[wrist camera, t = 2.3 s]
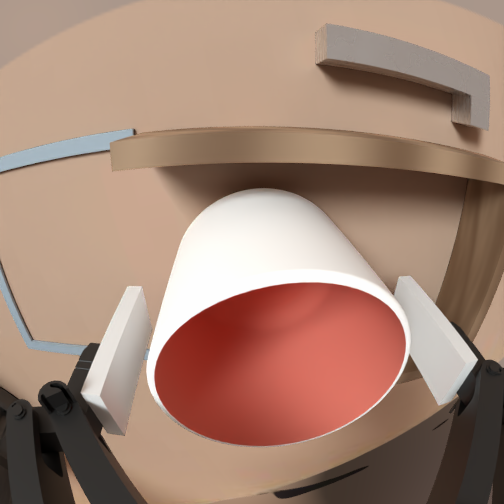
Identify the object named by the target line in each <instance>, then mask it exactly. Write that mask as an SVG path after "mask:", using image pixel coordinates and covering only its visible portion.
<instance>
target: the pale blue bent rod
mask: <svg viewBox="0 0 504 504" xmlns="http://www.w3.org/2000/svg"><path fill="white" fill-rule="evenodd" d="M133 135H134V129H127V130H120V131H113V132H107V133H101V134H95V135H89V136H84V137H79V138H74V139H69V140H64V141H60V142H55V143H51V144H47V145H42V146H38V147H35V148H31V149H27V150H23V151H20V152H16V153H13V154H9V155H6V156H3V157H0V172H2V171H5V170H9V169H13V168H17V167H21V166H25V165H29V164H34V163H38V162H42V161H47V160H52V159H57V158H62V157H67V156H73V155H78V154H84V153H90V152H96V151H103V150H110V142H113V141H116V140H119V139H123V138H126V137H129V136H133ZM0 289H1V291H2V294H3V296H4V298H5V301H6V303H7V305H8V308H9V310H10V312H11V314H12V317H13V319H14V321H15V323H16V325H17V327H18V329H19V331H20V333H21V335H22V337H23V339H24V341H25V343H26V345H27V347H28V348H29V349H35V350H42V351H49V352H56V353H64V354H73V355H81V354H82V352H83V350H84V349H85V348H86V347H87V346H83V345H72V344H63V343H54V342H45V341H38V340H32V338H31V336H30V334H29V332H28V329H27V327H26V325H25V323H24V321H23V319H22V317H21V315H20V312H19V310H18V308H17V305H16V303H15V301H14V298H13V296H12V293H11V291H10V288H9V286H8V283H7V281H6V278H5V275H4V272H3V269H2V267H1V264H0ZM149 351H150V349H146V353H145V356H144V360H148V355H149Z"/></svg>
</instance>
